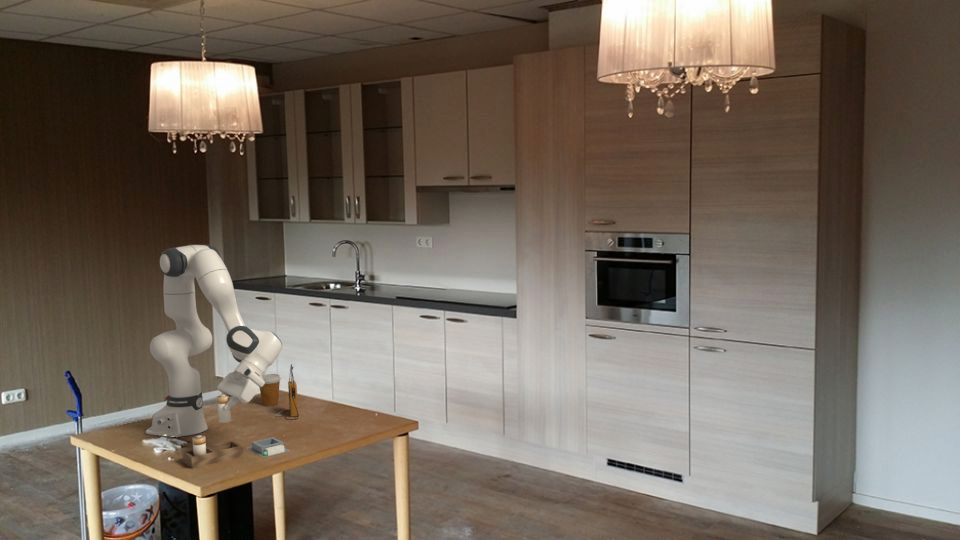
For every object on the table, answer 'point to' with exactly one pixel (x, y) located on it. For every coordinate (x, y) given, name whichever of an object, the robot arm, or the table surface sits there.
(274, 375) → the disposable coffee cup
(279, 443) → the checker
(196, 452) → the cell
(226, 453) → the rack
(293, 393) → the multimeter
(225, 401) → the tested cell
